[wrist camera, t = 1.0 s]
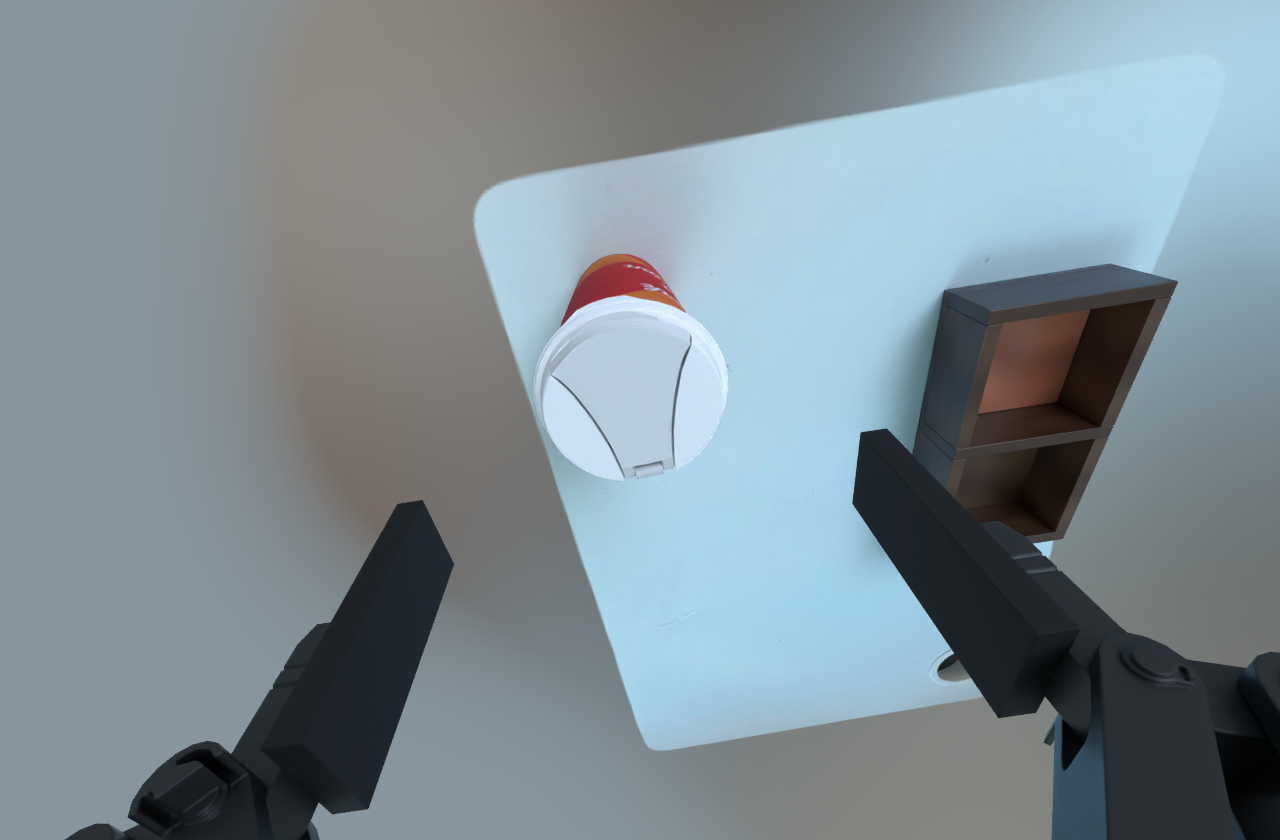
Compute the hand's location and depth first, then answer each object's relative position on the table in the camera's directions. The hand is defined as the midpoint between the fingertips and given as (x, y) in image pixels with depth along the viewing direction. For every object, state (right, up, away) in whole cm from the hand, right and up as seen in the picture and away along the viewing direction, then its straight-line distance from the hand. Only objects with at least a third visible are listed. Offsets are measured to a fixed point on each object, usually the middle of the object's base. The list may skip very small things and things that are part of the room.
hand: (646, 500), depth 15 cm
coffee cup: (-1, +11, +17) cm, 21 cm away
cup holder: (+28, +3, +24) cm, 37 cm away
